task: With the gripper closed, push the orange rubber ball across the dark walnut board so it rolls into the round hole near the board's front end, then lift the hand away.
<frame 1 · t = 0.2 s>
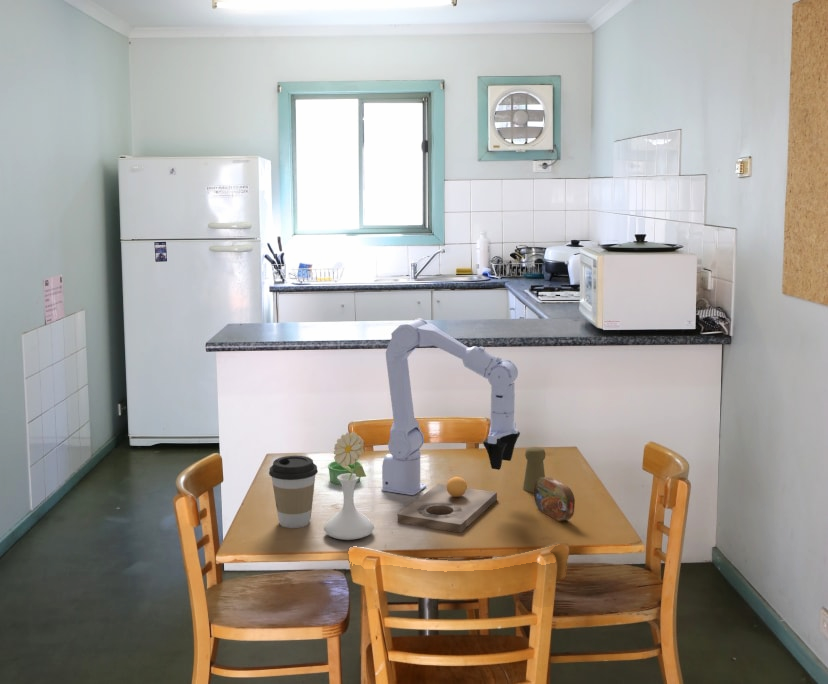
hand: (501, 464, 245), 10 cm above the table, tool pointing down, fingers open, 7 cm apart
ramekin: (345, 481, 264), on the table
ball: (456, 486, 245), point 4 cm above the table, touching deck
coffee cup: (294, 523, 234), on the table
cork: (534, 489, 257), on the table
flower in vase: (350, 536, 226), on the table
tin: (553, 515, 239), on the table
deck: (448, 510, 241), on the table
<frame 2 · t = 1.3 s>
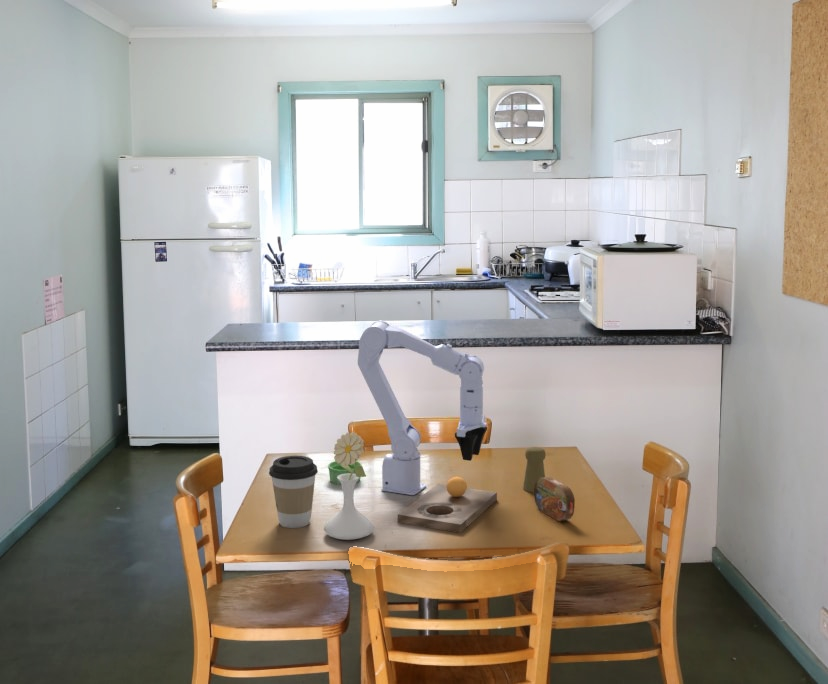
hand: (470, 457, 252), 9 cm above the table, tool pointing down, fingers open, 4 cm apart
nothing on the table moved.
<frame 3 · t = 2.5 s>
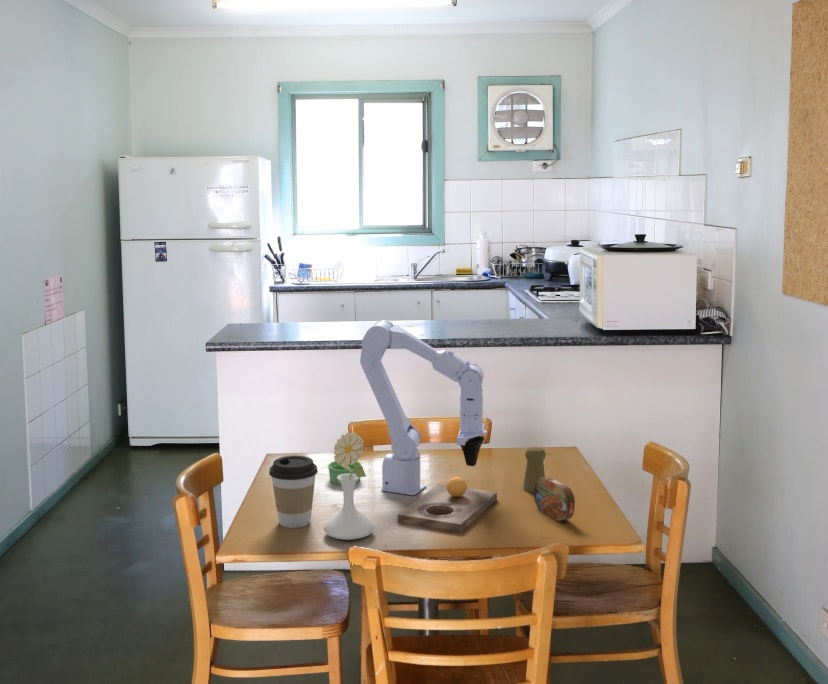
hand: (471, 465, 253), 7 cm above the table, tool pointing down, fingers closed
nothing on the table moved.
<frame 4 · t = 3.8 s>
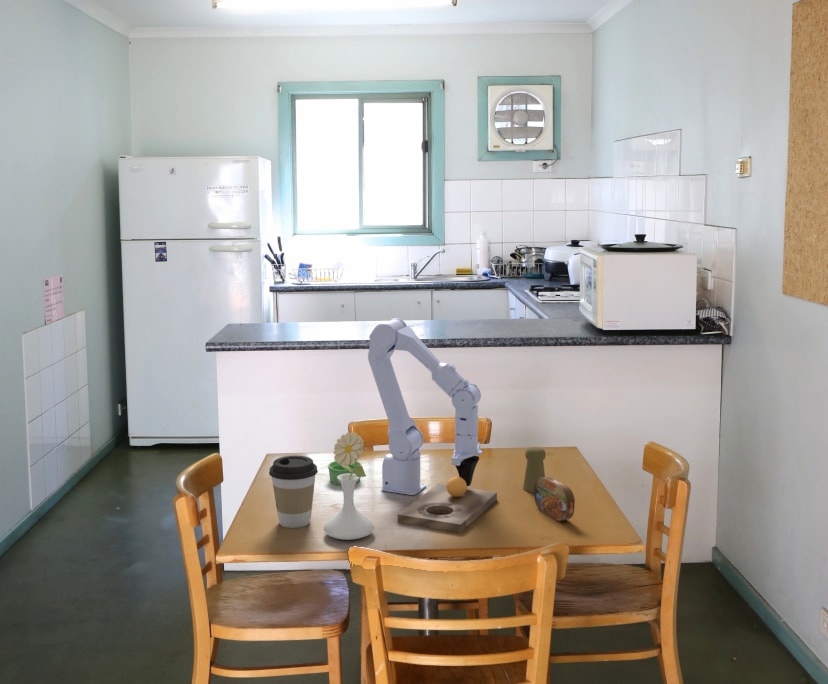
hand: (466, 485, 251), 3 cm above the table, tool pointing down, fingers closed
nothing on the table moved.
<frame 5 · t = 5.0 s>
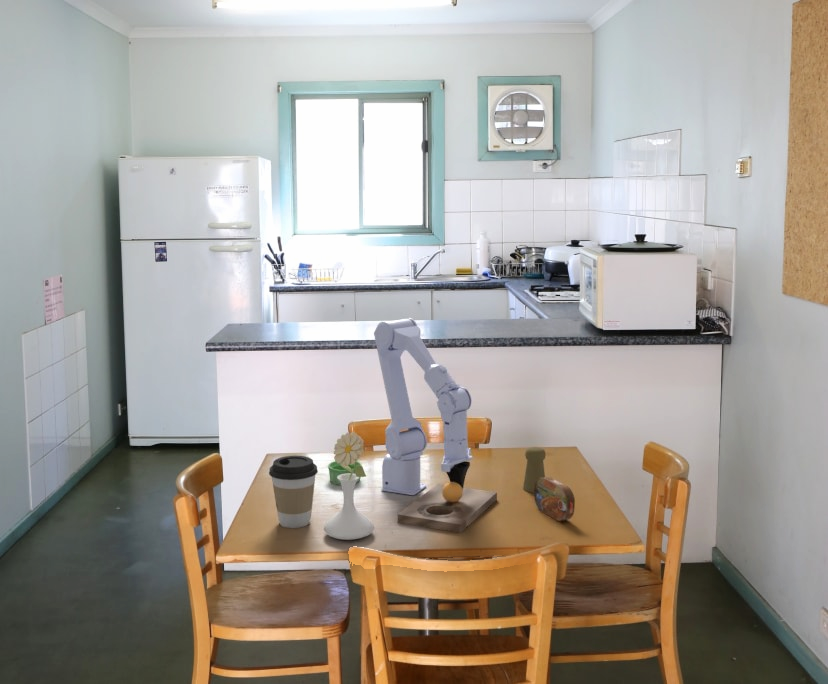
hand: (457, 492, 243), 4 cm above the table, tool pointing down, fingers closed, pressing on ball
ball: (452, 492, 241), point 4 cm above the table, tilted 87°, touching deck, gripper
everything else where it was.
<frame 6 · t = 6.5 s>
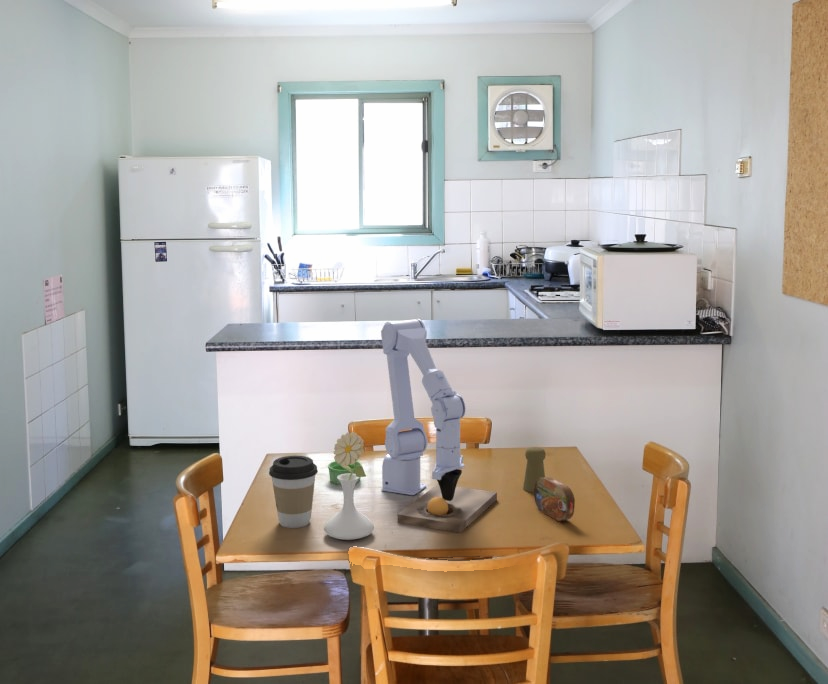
hand: (447, 499, 240), 3 cm above the table, tool pointing down, fingers closed
ball: (437, 507, 236), point 2 cm above the table, tilted 140°
everything else where it was.
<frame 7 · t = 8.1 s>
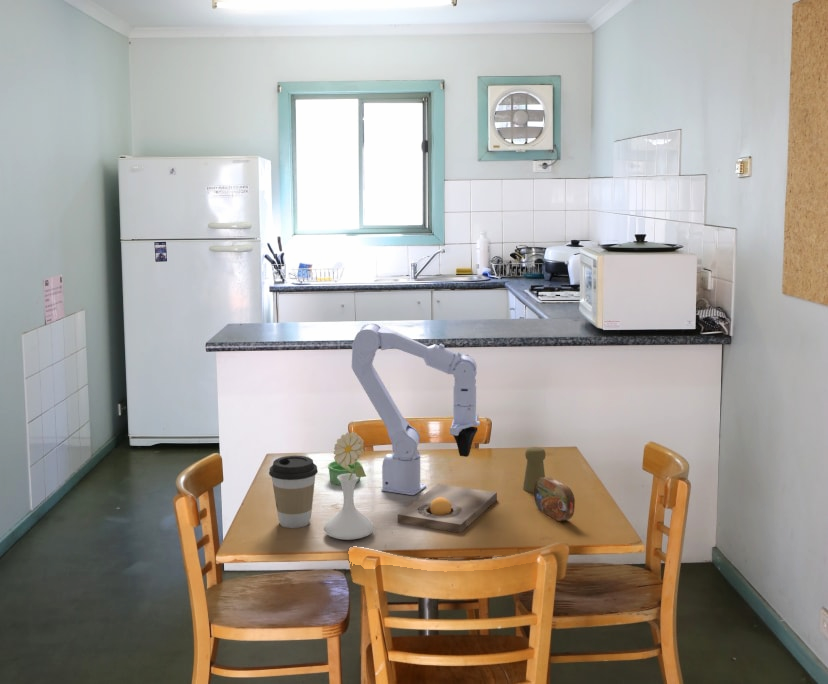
hand: (464, 455, 254), 9 cm above the table, tool pointing down, fingers closed
ball: (440, 507, 236), point 2 cm above the table, tilted 148°
everything else where it was.
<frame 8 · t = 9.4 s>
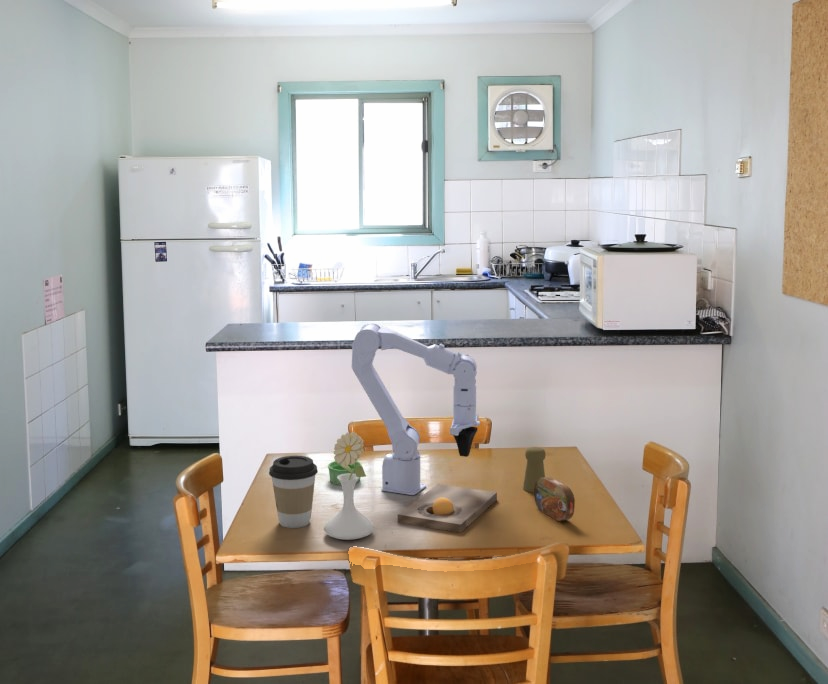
hand: (464, 455, 254), 9 cm above the table, tool pointing down, fingers closed
nothing on the table moved.
at the end: ball 0.8 cm from the target spot in the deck, point 2.5 cm above the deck's base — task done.
